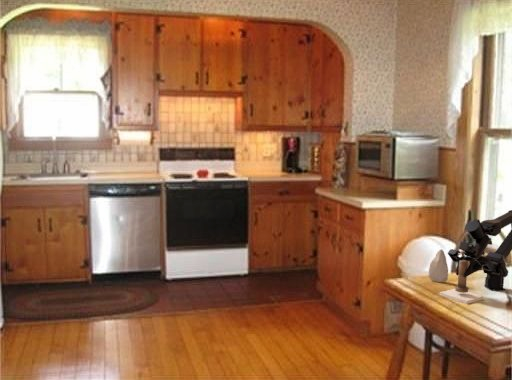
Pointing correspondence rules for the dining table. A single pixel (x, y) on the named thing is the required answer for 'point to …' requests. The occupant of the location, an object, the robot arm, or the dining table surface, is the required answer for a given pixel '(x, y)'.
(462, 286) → the tamper
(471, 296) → the tile
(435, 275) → the stone tool
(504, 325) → the dining table surface
